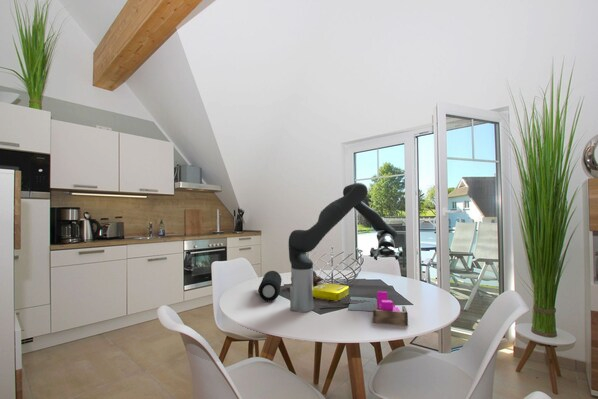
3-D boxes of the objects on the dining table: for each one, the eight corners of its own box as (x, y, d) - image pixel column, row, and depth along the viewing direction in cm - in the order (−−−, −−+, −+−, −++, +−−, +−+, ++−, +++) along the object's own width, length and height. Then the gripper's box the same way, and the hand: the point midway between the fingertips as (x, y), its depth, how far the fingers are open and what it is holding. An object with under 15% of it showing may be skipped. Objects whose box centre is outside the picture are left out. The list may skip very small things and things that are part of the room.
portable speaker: (263, 288, 157) (263, 269, 158) (281, 288, 158) (281, 269, 158) (257, 303, 132) (257, 281, 132) (279, 303, 132) (279, 280, 133)
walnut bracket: (373, 322, 107) (373, 310, 107) (373, 315, 115) (372, 304, 115) (407, 325, 105) (407, 312, 105) (405, 317, 112) (405, 306, 112)
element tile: (337, 302, 133) (337, 292, 133) (309, 298, 140) (308, 287, 141) (350, 294, 145) (349, 285, 145) (323, 290, 153) (323, 281, 153)
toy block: (400, 323, 107) (399, 302, 107) (382, 322, 108) (382, 302, 108) (392, 309, 122) (392, 291, 122) (377, 309, 123) (377, 291, 123)
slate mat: (348, 310, 121) (348, 309, 121) (350, 297, 139) (350, 296, 139) (377, 312, 119) (377, 311, 119) (376, 299, 136) (376, 298, 136)
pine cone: (289, 289, 154) (289, 270, 154) (292, 284, 164) (292, 267, 164) (323, 290, 152) (322, 271, 152) (323, 285, 162) (323, 267, 162)
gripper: (370, 238, 145) (368, 250, 129) (401, 237, 140) (402, 249, 125) (372, 253, 146) (370, 266, 131) (402, 252, 141) (403, 266, 126)
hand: (386, 258), depth 128 cm, fingers open, 8 cm apart
